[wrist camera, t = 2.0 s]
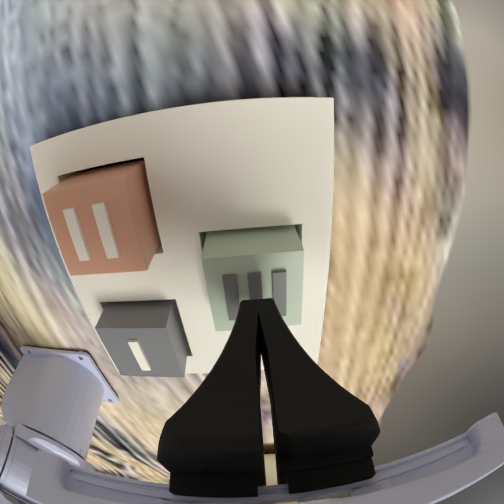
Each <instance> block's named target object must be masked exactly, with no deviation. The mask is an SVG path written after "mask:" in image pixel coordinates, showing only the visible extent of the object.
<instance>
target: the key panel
mask: <svg viewBox="0 0 504 504" xmlns="http://www.w3.org/2000/svg"><path fill="white" fill-rule="evenodd" d="M30 152H31V156H32V161H33V166H34V170H35V174H36V178H37V182H38V186H39V190H40V193H41V197H42V201H43V204H44V207H45V211H46V214H47V217H48V220H49V223H50V226H51V229H52V232H53V235H54V238H55V241H56V244H57V246H58V249H59V252H60V254H61V257H62V260H63V262H64V265H65V267H66V270H67V272H68V274H69V277H70V279H71V282H72V284H73V286H74V288H75V291H76V293H77V295H78V297H79V299H80V302H81V304H82V306H83V308H84V310H85V312H86V314H87V316H88V318H89V320H90V322H91V324H92V326H93V328H94V330H95V332H96V334H97V336H98V338H99V339H100V337H99V335H98V333H97V331H96V329H95V326H96V324H97V322H98V320H99V318H100V316H101V314H102V312H103V310H104V308H105V306H106V304H107V302H118V301H146V300H169V299H176V302H177V306H178V309H179V313H180V316H181V320H182V323H183V326H184V330H185V333H186V336H187V339H188V343H189V347H188V353H187V360H186V368H185V373H210V371H211V370H212V368H213V366H214V365H215V363H216V361H217V360H218V358H219V356H220V354H221V353H222V351H223V349H224V347H225V344H226V342H227V340H228V338H229V336H230V334H231V331H232V330H231V331H215V326H214V321H213V316H212V311H211V306H210V301H209V296H208V291H207V286H206V281H205V276H204V270H203V265H202V259H201V258H202V253H203V248H204V243H205V238H206V233H207V231H218V230H230V229H242V228H254V227H267V226H280V225H294V226H295V228H296V231H297V234H298V236H299V239H300V241H301V244H302V246H303V249H304V271H303V296H302V317H301V325H291V326H288V328H289V329H290V331H291V333H292V334H293V336H294V337H295V338H296V340H297V341H298V342H299V344H300V345H301V346H302V348H303V349H304V350H305V351H306V353H307V354H308V355H309V356H310V357H311V358H312V359H313V361H314V362H315V363H316V364H317V362H318V356H319V349H320V341H321V334H322V326H323V318H324V309H325V300H326V290H327V280H328V268H329V256H330V243H331V227H332V208H333V181H334V99H333V98H326V97H271V98H252V99H238V100H227V101H217V102H208V103H200V104H192V105H185V106H179V107H172V108H166V109H161V110H155V111H150V112H145V113H140V114H135V115H131V116H126V117H122V118H118V119H114V120H110V121H106V122H102V123H98V124H94V125H91V126H87V127H84V128H80V129H77V130H74V131H70V132H67V133H64V134H61V135H58V136H55V137H52V138H49V139H47V140H44V141H41V142H39V143H36V144H34V145H31V146H30ZM142 157H144V161H145V167H146V172H147V178H148V183H149V188H150V193H151V199H152V203H153V208H154V213H155V218H156V222H157V227H158V231H159V236H160V240H161V241H160V243H159V245H158V247H157V250H156V252H155V254H154V256H153V258H152V261H151V263H150V265H149V267H148V270H147V271H135V272H120V273H105V274H90V275H74V276H70V273H69V271H68V269H67V266H66V264H65V261H64V258H63V256H62V253H61V251H60V248H59V245H58V242H57V240H56V237H55V234H54V231H53V228H52V225H51V222H50V219H49V216H48V212H47V209H46V206H45V202H44V199H43V195H42V194H43V193H45V192H46V191H48V190H49V189H50V188H52V187H53V186H55V185H57V184H58V183H60V182H61V181H63V180H64V179H66V178H67V177H69V176H71V175H72V174H76V173H81V170H83V169H87V168H92V167H96V166H101V165H106V164H110V163H115V162H120V161H126V160H131V159H136V158H142ZM100 341H101V339H100ZM101 343H102V341H101ZM102 345H103V347H104V348H105V346H104V344H103V343H102ZM105 350H106V348H105ZM106 352H107V350H106ZM107 354H108V356H109V357H110V355H109V353H108V352H107ZM110 359H111V357H110ZM111 361H112V362H113V360H112V359H111ZM113 364H114V362H113ZM114 366H115V367H116V365H115V364H114ZM116 369H117V367H116ZM261 370H264V366H263V361H262V355H261ZM117 371H118V372H119V370H118V369H117Z"/></svg>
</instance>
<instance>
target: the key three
mask: <svg viewBox="0 0 504 504" xmlns="http://www.w3.org/2000/svg"><path fill="white" fill-rule="evenodd" d="M201 259H202V265H203V270H204V276H205V281H206V286H207V291H208V296H209V301H210V306H211V311H212V316H213V321H214V326H215V331H231V330H232V329H233V326H234V323H235V320H236V317H237V314H238V310H239V306H240V302H241V301H242V300H253V299H266V298H272V299H274V301H275V304H276V306H277V308H278V310H279V312H280V314H281V316H282V318H283V320H284V321H285V323H286V325H287V326H291V325H301V317H302V296H303V271H304V249H303V246H302V244H301V241H300V239H299V236H298V234H297V231H296V228H295V226H294V225H280V226H267V227H254V228H242V229H230V230H218V231H207V233H206V238H205V243H204V248H203V253H202V258H201Z"/></svg>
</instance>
